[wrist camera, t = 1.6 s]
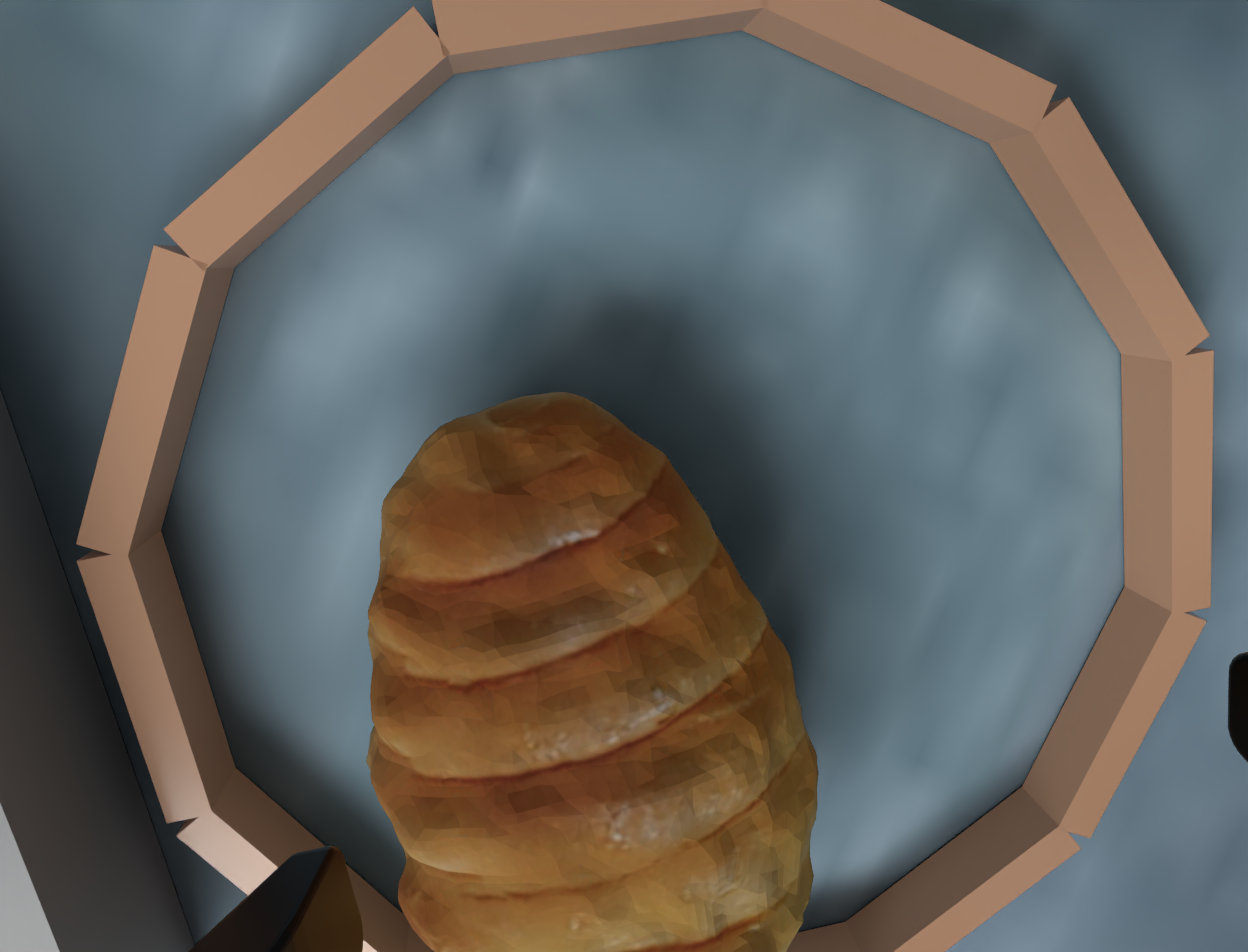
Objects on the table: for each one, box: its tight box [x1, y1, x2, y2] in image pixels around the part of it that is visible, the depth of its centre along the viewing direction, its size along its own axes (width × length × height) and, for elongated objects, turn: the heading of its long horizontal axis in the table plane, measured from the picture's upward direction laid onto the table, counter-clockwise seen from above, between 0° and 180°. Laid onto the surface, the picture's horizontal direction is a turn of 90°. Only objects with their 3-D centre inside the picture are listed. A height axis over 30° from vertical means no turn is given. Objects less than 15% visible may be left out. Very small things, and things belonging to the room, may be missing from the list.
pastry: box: [366, 392, 818, 952], centre depth 13 cm, size 9×7×4 cm
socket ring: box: [76, 0, 1214, 952], centre depth 14 cm, size 17×17×1 cm
